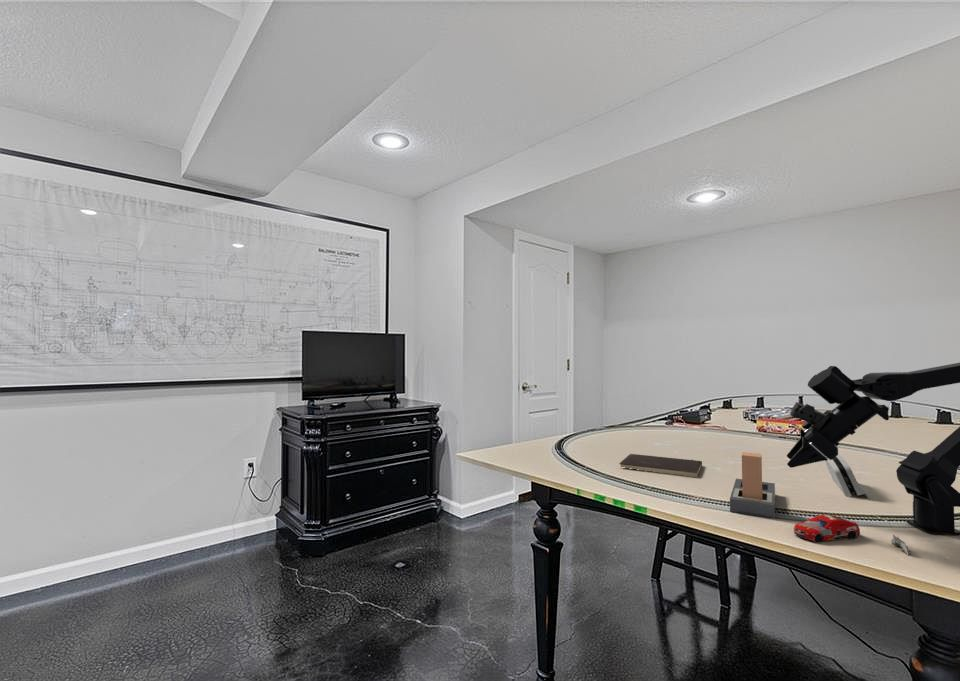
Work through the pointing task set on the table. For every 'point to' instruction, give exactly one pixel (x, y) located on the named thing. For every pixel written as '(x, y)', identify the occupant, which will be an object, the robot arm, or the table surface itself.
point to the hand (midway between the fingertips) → (788, 461)
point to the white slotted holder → (844, 477)
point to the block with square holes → (753, 501)
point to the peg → (752, 475)
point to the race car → (827, 528)
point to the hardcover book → (662, 464)
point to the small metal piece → (900, 544)
